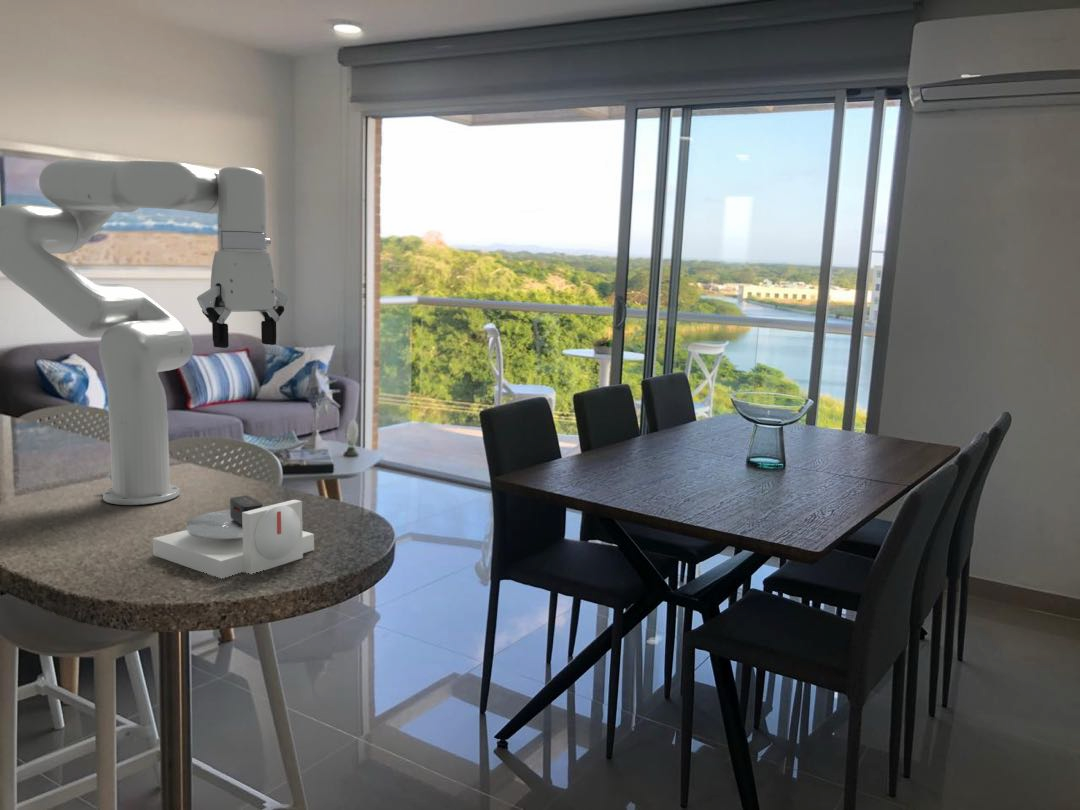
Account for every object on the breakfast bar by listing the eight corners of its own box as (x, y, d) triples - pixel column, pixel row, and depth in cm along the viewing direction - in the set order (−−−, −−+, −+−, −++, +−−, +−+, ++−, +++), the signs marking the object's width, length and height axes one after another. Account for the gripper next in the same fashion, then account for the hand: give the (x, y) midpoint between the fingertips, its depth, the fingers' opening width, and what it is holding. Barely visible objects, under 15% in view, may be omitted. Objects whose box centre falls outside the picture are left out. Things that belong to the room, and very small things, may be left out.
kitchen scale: (153, 555, 127) (150, 496, 126) (246, 530, 140) (244, 476, 139) (231, 582, 117) (230, 518, 115) (324, 552, 130) (323, 495, 128)
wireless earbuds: (247, 531, 124) (246, 508, 123) (229, 519, 129) (228, 498, 129) (279, 525, 126) (278, 503, 126) (260, 514, 132) (259, 493, 131)
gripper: (270, 245, 156) (272, 341, 158) (183, 241, 142) (187, 347, 144) (299, 246, 152) (300, 344, 154) (211, 241, 138) (215, 350, 140)
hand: (245, 345), depth 149 cm, fingers open, 9 cm apart
